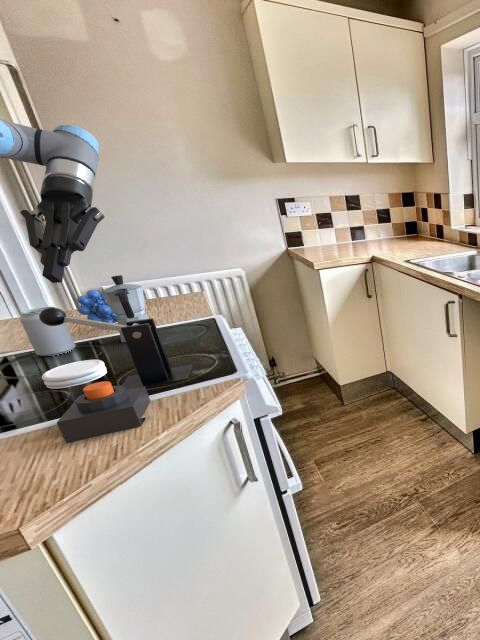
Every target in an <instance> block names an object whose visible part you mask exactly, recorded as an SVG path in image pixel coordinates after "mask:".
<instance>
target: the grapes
mask: <svg viewBox="0 0 480 640" xmlns="http://www.w3.org/2000/svg"><path fill="white" fill-rule="evenodd" d="M76 300H77V301H76V302H77V303H78V304H80V305H79V306H77V309H76V310H77V312H78V314H81V315H83V316H87V318H86V319H89V320H95V321H101V322H107V323H115V324H116V323H117V322H118V321H117V316H116V314H114V313H112V311H111V309H110V308H109V306H108V304H107V303H106V301H105V299H104V297H103V296H102V294H101V292H100V291H98V290H96V289H88V291H86V295H80V296H78V297H77V298H76Z"/></svg>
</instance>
